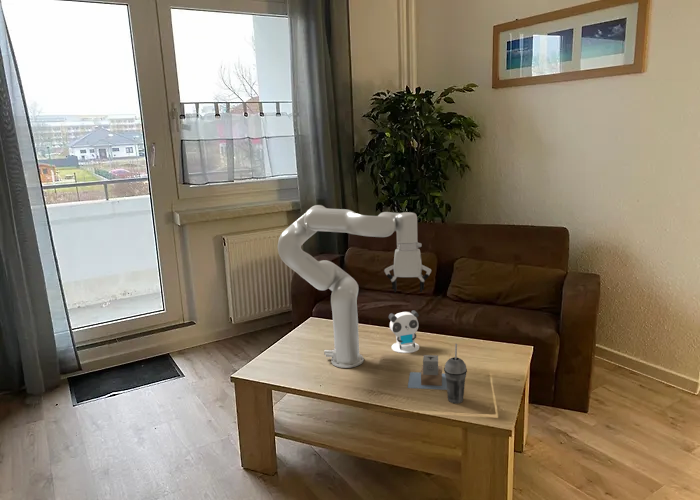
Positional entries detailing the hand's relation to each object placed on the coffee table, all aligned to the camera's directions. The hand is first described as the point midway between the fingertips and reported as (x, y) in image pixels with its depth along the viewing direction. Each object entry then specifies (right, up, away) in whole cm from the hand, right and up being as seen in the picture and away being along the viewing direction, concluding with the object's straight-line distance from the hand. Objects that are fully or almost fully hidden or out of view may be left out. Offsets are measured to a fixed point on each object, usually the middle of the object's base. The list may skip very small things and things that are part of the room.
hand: (408, 291), depth 197 cm
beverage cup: (+13, -35, -25) cm, 45 cm away
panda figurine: (+1, -25, +19) cm, 31 cm away
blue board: (+7, -31, -12) cm, 34 cm away
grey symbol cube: (+6, -27, -14) cm, 31 cm away
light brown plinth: (+7, -30, -12) cm, 33 cm away
